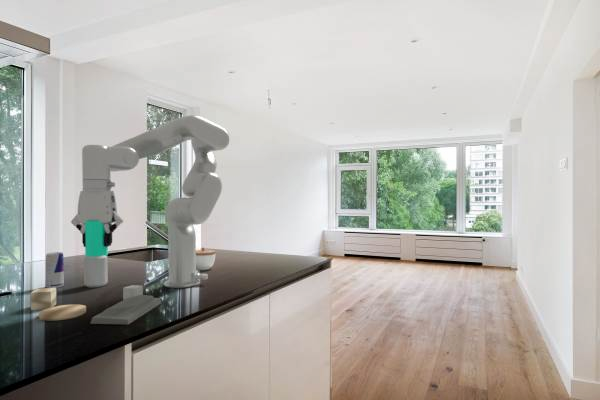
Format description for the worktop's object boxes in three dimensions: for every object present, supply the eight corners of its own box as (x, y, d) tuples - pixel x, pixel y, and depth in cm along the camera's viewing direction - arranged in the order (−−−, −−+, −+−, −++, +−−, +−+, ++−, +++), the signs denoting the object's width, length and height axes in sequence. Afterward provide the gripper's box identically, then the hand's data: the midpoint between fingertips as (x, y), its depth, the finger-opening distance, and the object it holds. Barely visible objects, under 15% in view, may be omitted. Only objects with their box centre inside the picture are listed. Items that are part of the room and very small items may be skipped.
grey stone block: (142, 298, 122) (142, 285, 122) (133, 301, 119) (133, 288, 119) (132, 297, 124) (132, 285, 124) (123, 300, 120) (123, 287, 120)
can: (97, 288, 136) (97, 254, 136) (79, 287, 137) (78, 253, 137) (112, 283, 143) (111, 251, 143) (94, 282, 145) (94, 250, 145)
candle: (92, 257, 113) (91, 216, 113) (81, 255, 116) (80, 215, 116) (111, 254, 118) (111, 215, 118) (100, 253, 121) (100, 214, 121)
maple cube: (56, 304, 116) (56, 287, 116) (51, 308, 112) (50, 291, 112) (37, 305, 115) (36, 288, 115) (30, 310, 110) (30, 292, 110)
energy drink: (67, 285, 140) (66, 252, 140) (52, 289, 135) (51, 254, 135) (57, 284, 142) (57, 251, 142) (42, 287, 137) (42, 253, 137)
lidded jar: (192, 266, 177) (192, 246, 177) (216, 266, 178) (216, 245, 178) (188, 271, 167) (188, 249, 166) (214, 270, 168) (214, 249, 168)
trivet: (93, 308, 111) (93, 304, 111) (72, 320, 100) (72, 315, 100) (54, 308, 111) (54, 304, 111) (29, 321, 100) (29, 316, 100)
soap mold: (89, 326, 98) (89, 312, 98) (130, 304, 118) (130, 292, 118) (128, 326, 97) (128, 312, 97) (163, 304, 117) (162, 293, 117)
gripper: (130, 186, 121) (131, 244, 121) (74, 186, 120) (75, 245, 121) (120, 185, 113) (120, 247, 114) (60, 186, 113) (61, 248, 113)
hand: (97, 245), depth 117 cm, fingers closed on candle, 5 cm apart
